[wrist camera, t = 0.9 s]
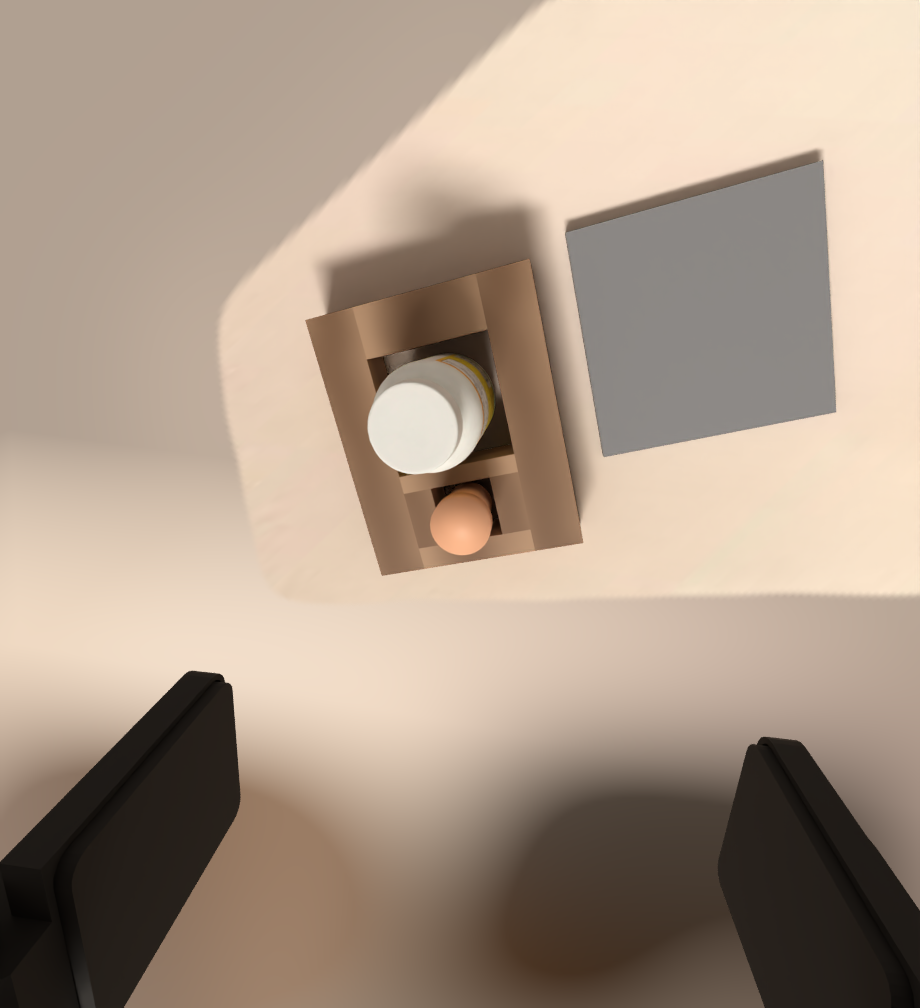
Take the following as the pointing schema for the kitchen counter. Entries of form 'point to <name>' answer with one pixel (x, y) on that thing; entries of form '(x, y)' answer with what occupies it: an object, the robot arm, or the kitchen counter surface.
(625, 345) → the pad
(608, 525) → the kitchen counter surface
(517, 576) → the kitchen counter surface
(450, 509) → the peach rounded piece
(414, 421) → the supplement bottle
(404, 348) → the housing
